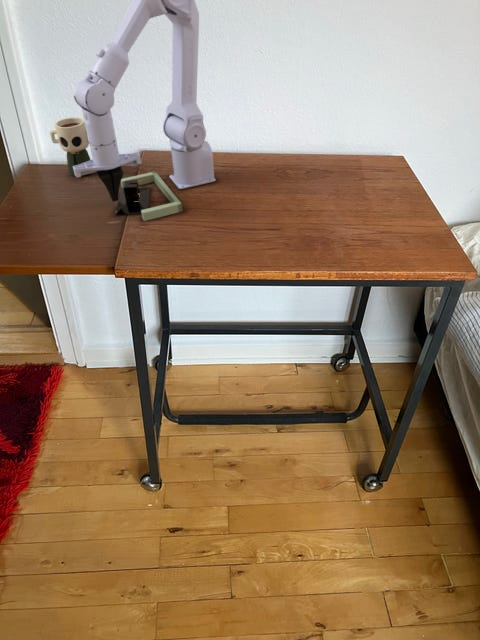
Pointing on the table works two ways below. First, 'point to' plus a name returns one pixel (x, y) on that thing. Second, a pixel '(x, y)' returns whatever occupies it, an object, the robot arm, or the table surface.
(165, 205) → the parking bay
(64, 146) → the character mug
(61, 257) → the table surface
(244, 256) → the table surface
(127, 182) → the build plate
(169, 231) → the table surface
